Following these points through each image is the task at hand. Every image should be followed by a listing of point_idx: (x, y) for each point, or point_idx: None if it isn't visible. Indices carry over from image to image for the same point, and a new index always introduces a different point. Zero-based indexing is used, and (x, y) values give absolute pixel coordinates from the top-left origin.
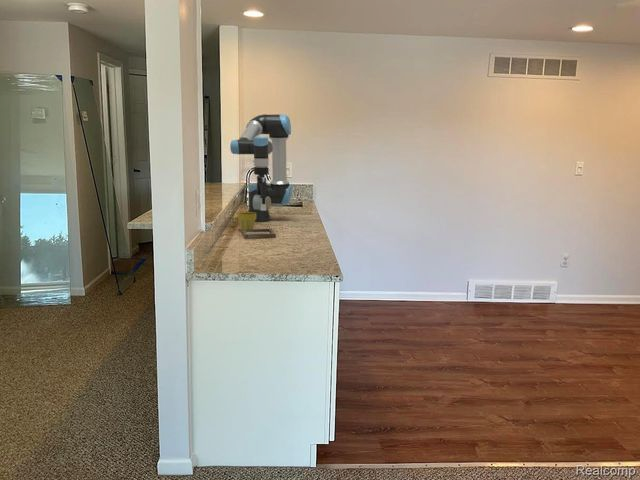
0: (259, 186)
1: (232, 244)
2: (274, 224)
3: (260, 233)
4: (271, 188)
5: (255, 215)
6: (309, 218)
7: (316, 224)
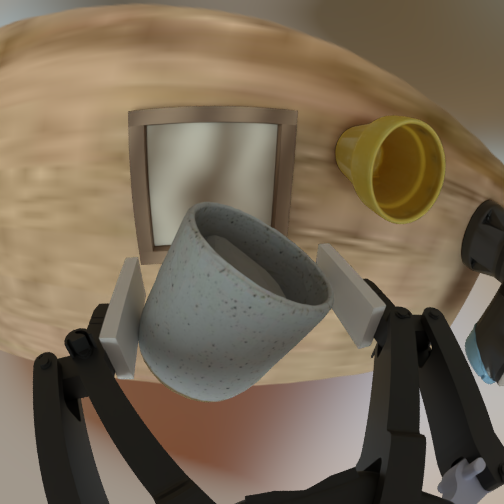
0: (380, 425)
1: (37, 70)
2: (420, 272)
3: (222, 196)
4: None
5: (376, 213)
6: None
7: (362, 371)
